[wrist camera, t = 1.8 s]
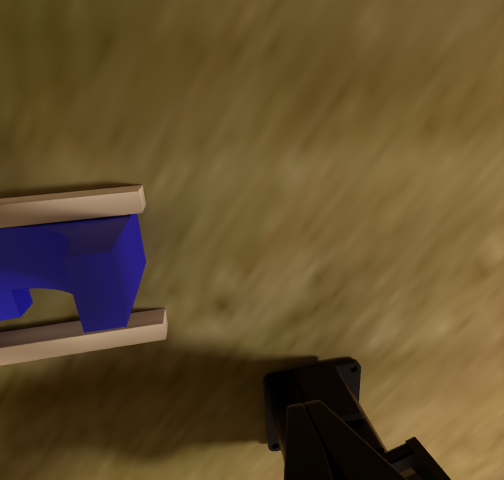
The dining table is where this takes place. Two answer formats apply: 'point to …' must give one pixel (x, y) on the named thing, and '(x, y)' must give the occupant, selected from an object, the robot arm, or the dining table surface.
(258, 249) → the dining table surface
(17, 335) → the guide track
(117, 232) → the blue cradle block
